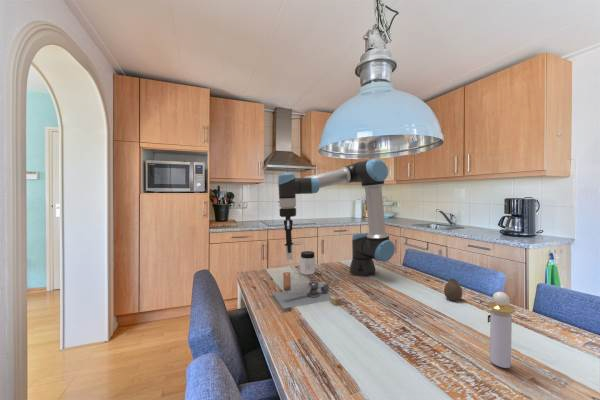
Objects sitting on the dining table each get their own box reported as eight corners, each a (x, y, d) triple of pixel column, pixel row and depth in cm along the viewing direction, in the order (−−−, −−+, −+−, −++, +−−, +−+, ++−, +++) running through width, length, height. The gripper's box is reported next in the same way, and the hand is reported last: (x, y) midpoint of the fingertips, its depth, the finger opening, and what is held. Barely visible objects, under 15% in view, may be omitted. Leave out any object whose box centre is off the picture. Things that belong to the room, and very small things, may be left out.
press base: (322, 288, 128) (322, 279, 128) (339, 302, 112) (339, 292, 112) (272, 296, 119) (272, 286, 119) (283, 312, 103) (283, 300, 103)
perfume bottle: (519, 372, 68) (520, 296, 67) (497, 372, 68) (497, 296, 67) (503, 358, 73) (504, 288, 73) (482, 358, 74) (483, 288, 73)
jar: (301, 275, 150) (301, 254, 150) (299, 271, 158) (299, 251, 158) (316, 274, 151) (316, 253, 151) (313, 270, 159) (313, 250, 159)
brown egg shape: (466, 302, 110) (466, 282, 110) (449, 303, 110) (449, 282, 110) (456, 296, 117) (456, 277, 117) (440, 296, 117) (440, 277, 117)
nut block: (337, 294, 110) (342, 298, 107) (337, 304, 111) (343, 307, 107) (329, 296, 109) (334, 299, 105) (329, 305, 109) (334, 309, 105)
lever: (324, 288, 122) (324, 265, 122) (329, 291, 118) (329, 267, 118) (281, 297, 112) (281, 272, 111) (286, 301, 108) (285, 275, 108)
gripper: (280, 207, 124) (281, 256, 125) (278, 209, 111) (280, 263, 112) (295, 206, 125) (297, 255, 126) (296, 208, 112) (298, 262, 113)
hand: (289, 259), depth 119 cm, fingers closed
